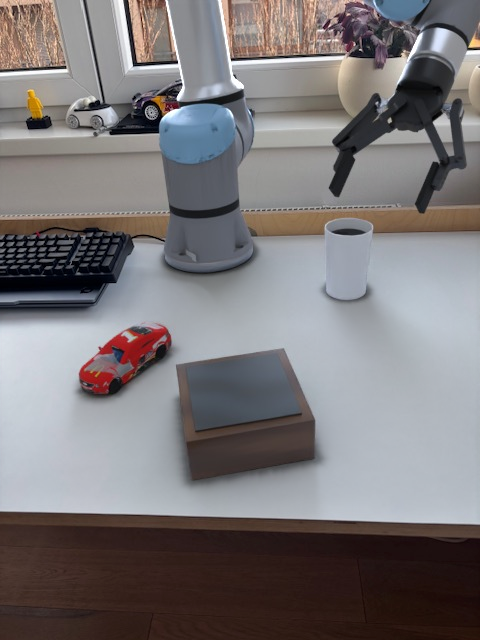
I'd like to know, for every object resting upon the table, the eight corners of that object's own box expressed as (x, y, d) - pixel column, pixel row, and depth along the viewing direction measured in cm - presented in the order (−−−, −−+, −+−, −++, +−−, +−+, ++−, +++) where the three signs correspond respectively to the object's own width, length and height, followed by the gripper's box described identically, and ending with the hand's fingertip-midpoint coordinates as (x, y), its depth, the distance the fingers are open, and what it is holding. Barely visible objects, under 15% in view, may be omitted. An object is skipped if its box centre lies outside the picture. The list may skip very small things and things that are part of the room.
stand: (181, 399, 61) (175, 362, 58) (284, 383, 63) (283, 346, 60) (191, 480, 51) (185, 440, 48) (314, 458, 52) (315, 418, 50)
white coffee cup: (337, 305, 77) (340, 240, 71) (314, 286, 82) (315, 223, 77) (378, 294, 78) (383, 230, 73) (353, 276, 84) (356, 214, 79)
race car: (101, 405, 61) (94, 377, 59) (71, 388, 64) (63, 361, 62) (180, 347, 70) (176, 321, 68) (150, 335, 73) (145, 310, 71)
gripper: (522, 92, 76) (465, 228, 74) (362, 84, 90) (311, 198, 89) (518, 56, 70) (456, 203, 68) (347, 52, 84) (292, 174, 82)
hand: (374, 200), depth 78 cm, fingers open, 13 cm apart
